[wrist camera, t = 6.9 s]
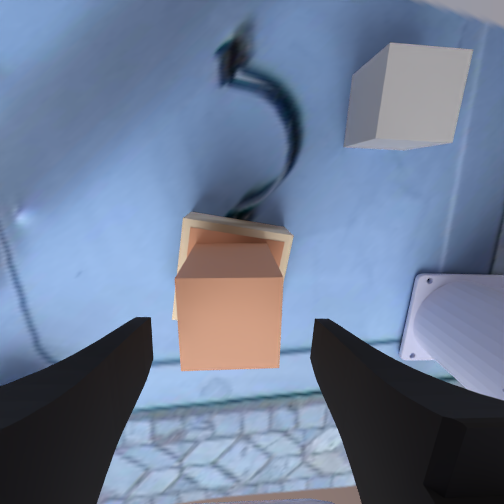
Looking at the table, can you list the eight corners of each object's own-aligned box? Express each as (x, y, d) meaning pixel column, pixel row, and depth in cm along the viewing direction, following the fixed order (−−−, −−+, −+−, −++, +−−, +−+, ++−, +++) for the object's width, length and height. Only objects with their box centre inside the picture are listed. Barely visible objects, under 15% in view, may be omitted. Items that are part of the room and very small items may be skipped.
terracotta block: (266, 243, 17) (283, 277, 11) (265, 307, 18) (279, 368, 12) (195, 243, 17) (174, 278, 11) (198, 308, 18) (181, 371, 12)
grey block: (415, 80, 18) (473, 49, 14) (403, 150, 19) (452, 142, 15) (351, 75, 18) (390, 42, 13) (342, 147, 19) (375, 138, 15)
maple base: (283, 226, 20) (293, 235, 17) (266, 308, 22) (272, 332, 19) (191, 211, 20) (182, 218, 16) (181, 297, 21) (171, 319, 18)
